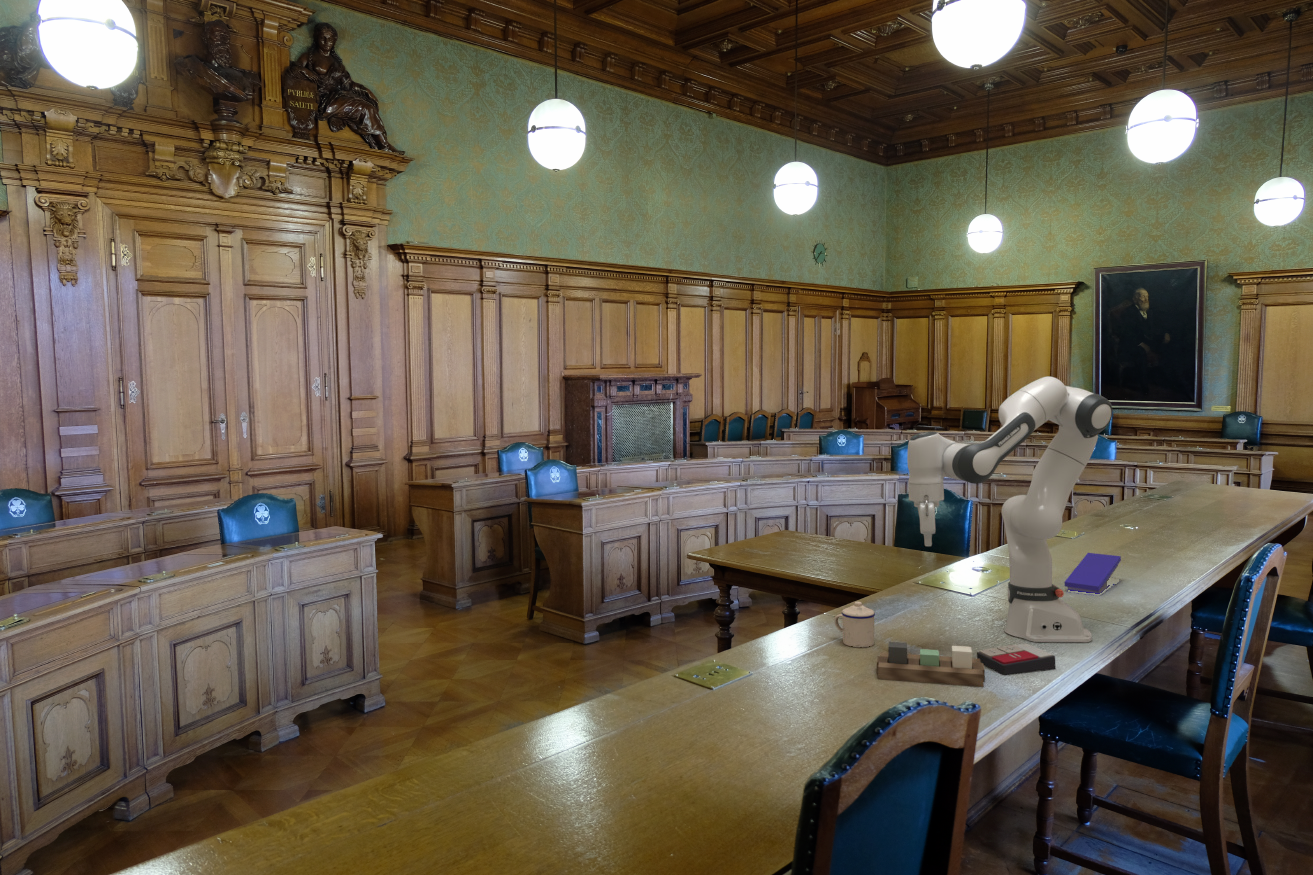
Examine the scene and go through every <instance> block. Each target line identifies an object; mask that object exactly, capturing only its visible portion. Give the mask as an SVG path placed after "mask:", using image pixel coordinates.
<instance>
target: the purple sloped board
mask: <svg viewBox="0 0 1313 875" xmlns="http://www.w3.org/2000/svg"><path fill="white" fill-rule="evenodd" d="M1121 557H1122V556H1121V555H1113V554H1102V553H1095V552H1094V553H1093V552H1087V553H1086V555H1085V556H1084V557H1083V558H1082V560H1081V561H1080V562H1079V563H1078V564H1077V566H1076V567H1075V568H1074V570H1073V571H1072V572H1071V573H1070V574H1069V575H1068V577H1067V578H1066V579H1065V581H1064V587H1067V591H1068V590H1070V591H1078V592H1086V593H1095V594H1100V593H1102V592H1103V591H1104V590H1105V589H1107V588H1108V587H1109V586H1110V585H1108V586H1107V581H1108V580H1109V578H1110V577H1112V576H1113V574H1114V573H1115V571H1116V569H1117V568H1118V566H1119V564H1120V563H1121V561H1122V558H1121Z"/></svg>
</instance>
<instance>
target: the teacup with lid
mask: <svg viewBox="0 0 1313 875" xmlns="http://www.w3.org/2000/svg"><path fill="white" fill-rule="evenodd" d="M875 616H876V614H875V611H874V609H871V608H868V607H867V606H865V605H863V604H862V602H861V601H854V604H853V605H851V606H849V607H846V608H843V609H842V610H841V613H840V614H837V615H836V616H834V625H835V628H836V630H838V631H839V632H841V633H842V642H843V644H844V645H846V646H848V647H851V646H853V648H860V647H862V648H869V646H870V647H872V646H874V645H875ZM839 618H842V627H841V625H840V623H839Z"/></svg>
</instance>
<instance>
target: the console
mask: <svg viewBox="0 0 1313 875" xmlns="http://www.w3.org/2000/svg"><path fill="white" fill-rule="evenodd" d="M876 658H877V659H876V675H878V680H887V681H900V682H901V681H902V682H915V683H927V684H939V685H940V684H942V685H954V686H966V687H967V686H968V687H976V688H977V687H981V688H984V686H985V685H984V683H985V682H986V681H985V680H986V679H985V673H986V672H985V666H984V665H983V663H981V661H980V659H977V657H975V658H974V657H972V669H965V668H952V656H946V655H939V667H937V666H923V665H920V654H915V653H914V654H912V653H907V664H895V663H889V659H888V651H887V652H884V651H883V652H882V651H880V652H879V655H877V657H876Z"/></svg>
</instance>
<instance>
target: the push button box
mask: <svg viewBox="0 0 1313 875" xmlns="http://www.w3.org/2000/svg"><path fill="white" fill-rule="evenodd" d="M976 658H977V659H980V661H981V663H983V665H984V667H986V668H988V669H990V670H992V671H993V672H996V673H998V674H1000V675H1002V676H1011V675H1012V676H1013V675H1019V674H1027V673H1033V672H1034V673H1035V672H1038V671H1041V672H1045V671H1052V670H1053V671H1054V670H1056V656H1055V655H1053V654H1052V653H1050V652H1048V651H1045V650H1043V649H1040V648H1038V647H1036V646H1033V645H1032V644H1029V643H1019V644H1009V645H1004V646H1003V645H1002V646H997V647H990V648H984V649H981V650H979V651H977V652H976Z"/></svg>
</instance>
